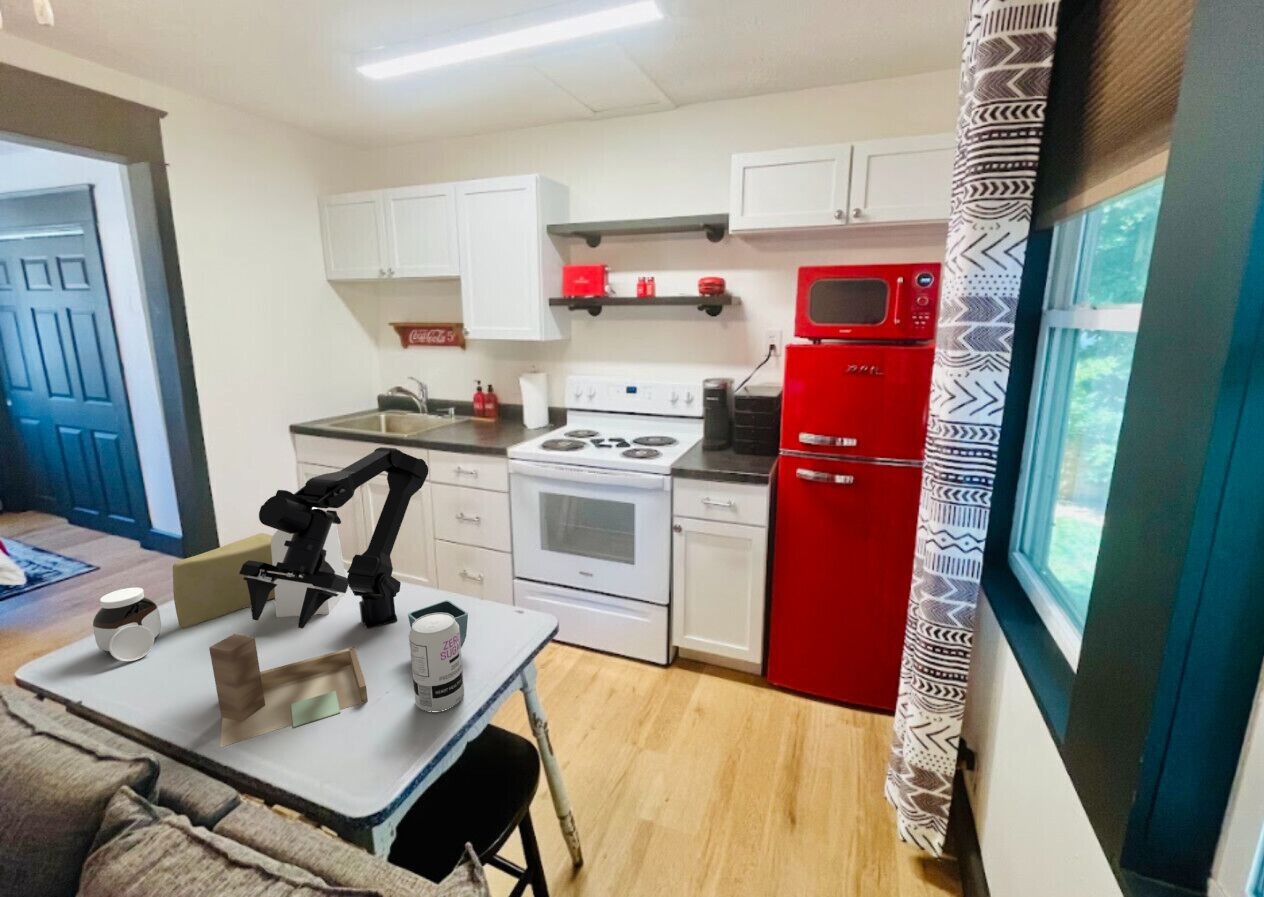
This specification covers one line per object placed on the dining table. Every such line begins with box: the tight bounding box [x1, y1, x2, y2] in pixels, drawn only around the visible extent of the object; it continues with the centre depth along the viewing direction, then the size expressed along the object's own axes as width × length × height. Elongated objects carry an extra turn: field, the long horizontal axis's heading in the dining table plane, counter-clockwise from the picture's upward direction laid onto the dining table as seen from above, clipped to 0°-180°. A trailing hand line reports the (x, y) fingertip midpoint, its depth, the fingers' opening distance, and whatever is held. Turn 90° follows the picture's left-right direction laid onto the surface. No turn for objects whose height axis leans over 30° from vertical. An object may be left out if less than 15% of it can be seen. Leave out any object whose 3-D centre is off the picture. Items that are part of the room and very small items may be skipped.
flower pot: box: [407, 599, 469, 649], centre depth 118 cm, size 9×9×9 cm
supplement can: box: [408, 613, 465, 713], centre depth 103 cm, size 8×8×15 cm
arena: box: [219, 646, 369, 748], centre depth 104 cm, size 22×16×3 cm
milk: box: [271, 507, 349, 618], centre depth 138 cm, size 12×12×26 cm
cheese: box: [172, 532, 275, 629], centre depth 138 cm, size 22×10×15 cm, turn 150°
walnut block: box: [208, 633, 265, 722], centre depth 100 cm, size 4×4×13 cm
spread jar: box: [92, 587, 162, 662], centre depth 120 cm, size 12×11×12 cm
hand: (277, 624), depth 107 cm, fingers open, 9 cm apart
